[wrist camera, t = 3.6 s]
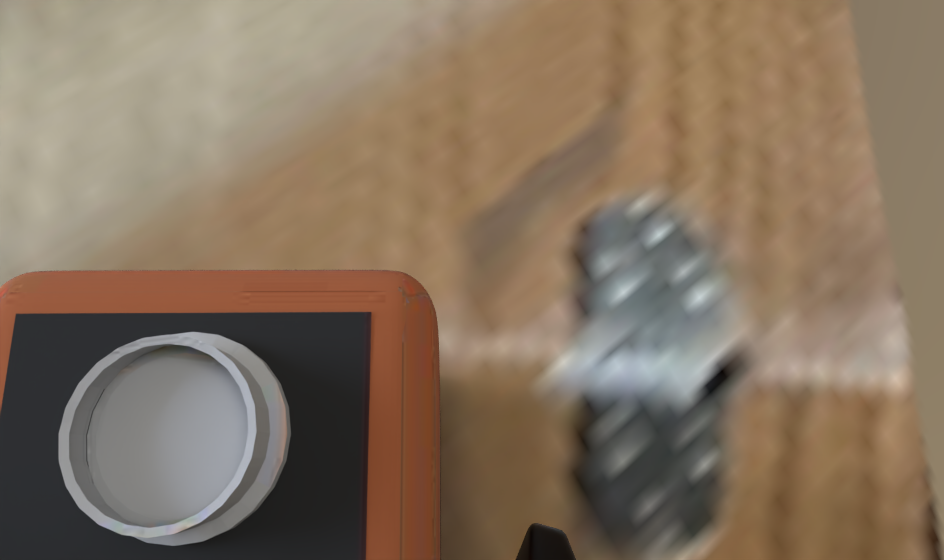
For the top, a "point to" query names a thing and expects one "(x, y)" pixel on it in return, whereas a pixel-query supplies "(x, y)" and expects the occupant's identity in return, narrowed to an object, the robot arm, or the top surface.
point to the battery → (219, 416)
